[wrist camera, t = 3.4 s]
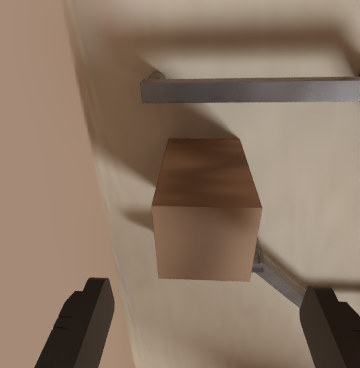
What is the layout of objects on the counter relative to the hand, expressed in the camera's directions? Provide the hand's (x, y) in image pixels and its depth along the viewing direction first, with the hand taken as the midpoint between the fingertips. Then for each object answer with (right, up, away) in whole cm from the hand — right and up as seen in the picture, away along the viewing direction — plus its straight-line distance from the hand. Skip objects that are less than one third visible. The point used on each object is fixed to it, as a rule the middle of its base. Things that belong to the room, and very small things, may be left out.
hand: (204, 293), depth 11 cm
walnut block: (+1, +6, +9) cm, 11 cm away
